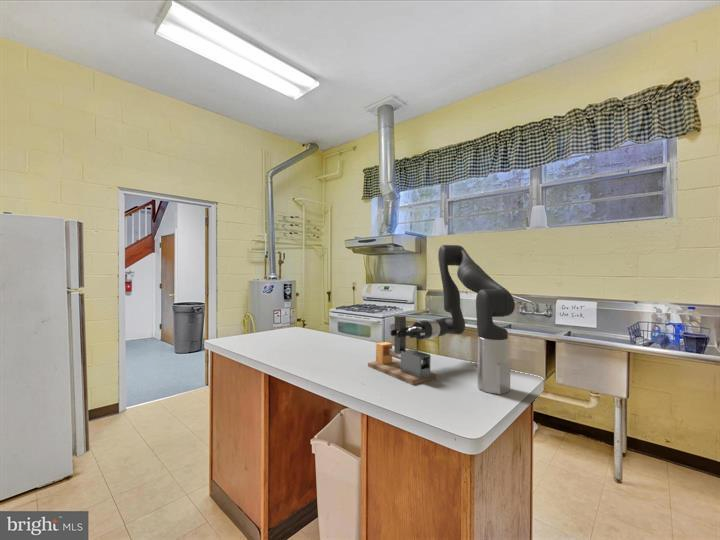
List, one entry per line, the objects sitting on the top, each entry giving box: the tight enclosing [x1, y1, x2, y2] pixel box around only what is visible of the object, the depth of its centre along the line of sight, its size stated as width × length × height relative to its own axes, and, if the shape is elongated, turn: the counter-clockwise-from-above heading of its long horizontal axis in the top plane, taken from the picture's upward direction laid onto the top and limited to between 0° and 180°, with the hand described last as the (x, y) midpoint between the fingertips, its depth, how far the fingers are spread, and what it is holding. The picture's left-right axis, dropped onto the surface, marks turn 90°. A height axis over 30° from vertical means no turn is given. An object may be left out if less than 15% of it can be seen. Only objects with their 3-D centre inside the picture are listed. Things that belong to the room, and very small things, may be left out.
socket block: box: [375, 341, 393, 364], centre depth 133 cm, size 4×5×8 cm
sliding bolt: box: [388, 315, 426, 367], centre depth 122 cm, size 18×3×16 cm, turn 35°
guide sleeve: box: [400, 348, 431, 379], centre depth 118 cm, size 10×5×8 cm, turn 35°
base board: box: [367, 358, 438, 386], centre depth 124 cm, size 26×12×2 cm, turn 35°
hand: (394, 333), depth 123 cm, fingers closed on sliding bolt, 3 cm apart
